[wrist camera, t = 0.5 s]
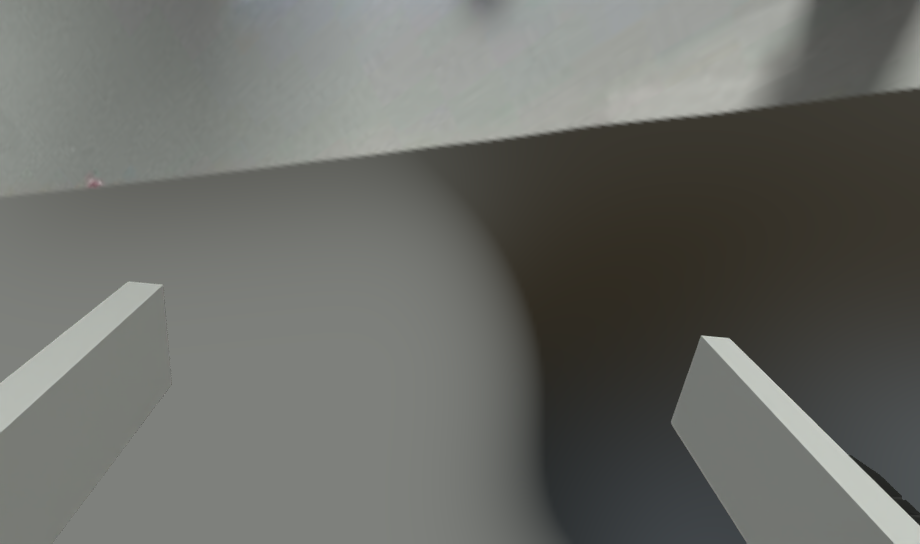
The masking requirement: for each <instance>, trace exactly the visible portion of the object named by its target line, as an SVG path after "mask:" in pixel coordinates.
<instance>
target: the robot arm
mask: <svg viewBox="0 0 920 544" xmlns="http://www.w3.org/2000/svg"><path fill="white" fill-rule="evenodd" d="M171 385H172V380H171V369H170V357H169V347H168V334H167V323H166V311H165V300H164V289H163V285H161V284H151V283H140V282H129V281H128V282H127V283H126V284H124V285H123V286H122V287H121V288H119V289H118V290H117V291H115V292H114V293H113V294H112V295H110V296H109V297H108V298H107V299H105V300H104V301H103V302H102V303H100V304H99V305H98V306H97V307H95V308H94V309H93V310H92V311H90V312H89V313H88V314H87V315H85V316H84V317H83V318H82V319H80V320H79V321H78V322H76V323H75V324H74V325H73V326H71V327H70V328H69V329H68V330H66V331H65V332H64V333H63V334H61V335H60V336H59V337H58V338H56V339H55V340H54V341H52V342H51V343H50V344H49V345H47V346H46V347H45V348H44V349H42V350H41V351H40V352H39V353H37V354H36V355H35V356H34V357H32V358H31V359H30V360H29V361H27V362H26V363H25V364H23V365H22V366H21V367H20V368H19V369H17V370H16V371H15V372H13V373H12V374H11V375H10V376H9V377H7V378H6V379H5V380H3V381H2V382H1V383H0V544H52V543H53V542H54V540H55V539H56V538H57V536H58V535H59V534H60V533H61V531H62V530H63V529H64V527H65V526H66V525H67V523H68V522H69V521H70V519H71V518H72V517H73V515H74V514H75V513H76V511H77V510H78V509H79V507H80V506H81V505H82V503H83V502H84V501H85V499H86V498H87V497H88V495H89V494H90V493H91V491H92V490H93V489H94V487H95V486H96V485H97V483H98V482H99V481H100V479H101V478H102V477H103V475H104V474H105V473H106V471H107V470H108V469H109V467H110V466H111V465H112V463H113V462H114V461H115V459H116V458H117V457H118V455H119V454H120V453H121V451H122V450H123V449H124V447H125V446H126V444H127V443H128V442H129V441H130V439H131V438H132V437H133V435H134V434H135V433H136V431H137V430H138V429H139V428H140V426H141V425H142V423H143V422H144V421H145V419H146V418H147V417H148V415H149V414H150V413H151V412H152V410H153V409H154V408H155V406H156V404H157V403H158V402H159V401H160V400H161V398H162V397H163V396H164V394H165V393H166V392H167V390H168V389H169V388H170V386H171ZM671 424H672V426H673V427H674V429H675V430H676V432H677V434H678V435H679V437H680V438H681V440H682V442H683V443H684V445H685V446H686V448H687V449H688V451H689V453H690V454H691V455H692V457H693V459H694V460H695V462H696V463H697V465H698V467H699V468H700V470H701V471H702V473H703V475H704V476H705V478H706V479H707V481H708V482H709V484H710V486H711V487H712V489H713V490H714V492H715V493H716V495H717V497H718V498H719V500H720V501H721V503H722V504H723V506H724V508H725V509H726V511H727V512H728V514H729V516H730V517H731V519H732V520H733V522H734V523H735V525H736V527H737V528H738V529H739V531H740V533H741V534H742V536H743V537H744V539H745V541H746V542H747V544H920V513H919V512H918V511H917V510H916V509H915V508H914V507H913V506H912V505H911V504H910V503H909V502H907V501H906V500H902V496H901V495H900V494H899V493H898V492H897V491H896V490H895V489H894V488H893V487H892V486H891V485H890V484H889V483H888V482H887V481H886V480H885V479H884V478H883V477H881V476H880V475H879V474H878V473H876V472H875V471H873V470H872V469H870V468H869V467H867V466H866V465H864V464H863V463H862V462H860V461H859V460H857V459H855V458H854V457H853V456H851V455H847V454H846V453H845V452H844V451H843V450H842V449H841V448H840V447H839V446H838V445H837V444H836V443H835V442H834V441H833V440H832V439H831V438H830V437H829V436H828V435H827V434H826V433H825V432H824V431H823V430H822V429H821V428H820V427H819V426H818V425H817V424H816V423H815V422H814V421H813V420H812V419H811V418H810V417H809V416H808V415H807V414H806V413H805V412H804V411H803V410H802V409H801V408H800V407H799V406H797V404H796V403H795V402H794V401H793V400H792V399H791V398H789V397H788V396H787V395H786V394H785V393H784V392H783V391H782V390H781V389H780V388H779V387H778V386H777V385H776V384H775V383H774V382H773V381H772V380H771V379H770V378H769V377H768V376H767V375H766V374H765V373H764V372H763V371H762V370H761V369H760V368H759V367H758V366H757V365H756V364H755V363H754V362H753V361H752V360H751V359H750V358H749V357H748V356H747V355H746V354H745V353H744V352H743V351H742V350H741V349H740V348H738V346H737V345H736V344H734V342H733V341H731V339H729V338H721V337H710V336H701V338H700V340H699V343H698V347H697V349H696V352H695V355H694V358H693V360H692V363H691V366H690V369H689V372H688V375H687V378H686V380H685V383H684V386H683V389H682V392H681V395H680V398H679V401H678V404H677V406H676V409H675V412H674V415H673V418H672V420H671Z"/></svg>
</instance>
